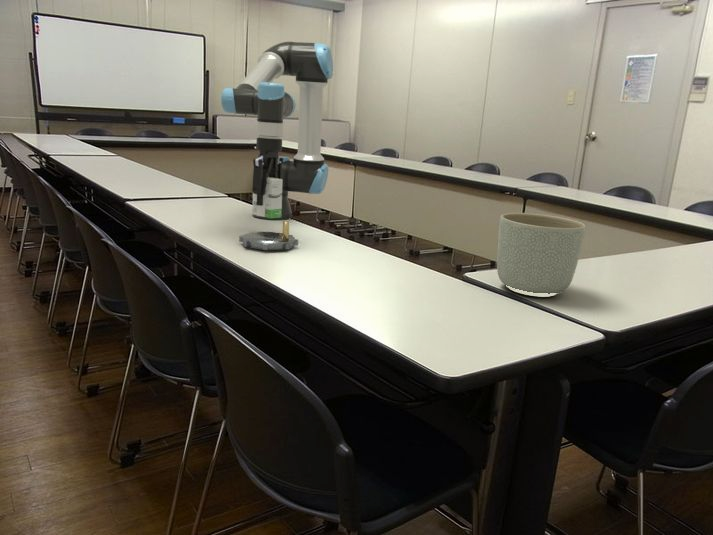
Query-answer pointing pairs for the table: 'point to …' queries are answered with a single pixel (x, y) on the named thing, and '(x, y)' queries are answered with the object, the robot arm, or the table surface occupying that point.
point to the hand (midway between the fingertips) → (266, 214)
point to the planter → (538, 251)
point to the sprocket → (270, 239)
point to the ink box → (271, 198)
